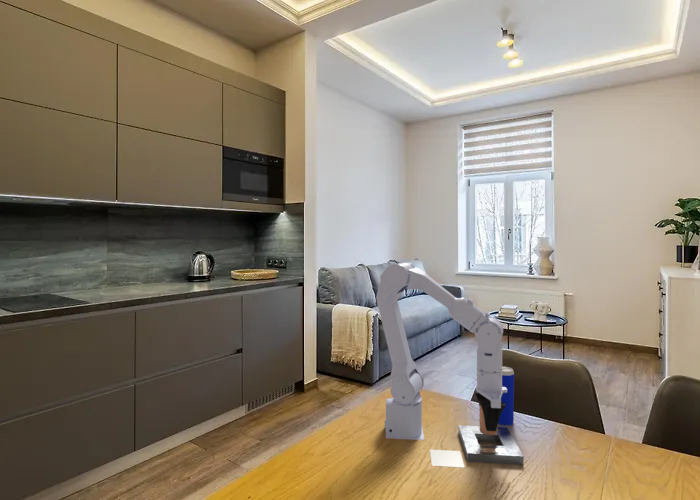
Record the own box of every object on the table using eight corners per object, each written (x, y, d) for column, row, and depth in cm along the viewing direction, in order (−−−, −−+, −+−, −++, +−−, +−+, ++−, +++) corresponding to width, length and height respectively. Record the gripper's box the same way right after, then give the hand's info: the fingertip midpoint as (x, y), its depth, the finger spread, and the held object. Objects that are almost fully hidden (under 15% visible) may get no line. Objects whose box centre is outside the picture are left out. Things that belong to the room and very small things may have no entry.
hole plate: (467, 464, 94) (467, 452, 94) (458, 434, 108) (458, 424, 108) (523, 467, 93) (523, 455, 92) (507, 437, 106) (507, 427, 106)
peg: (482, 435, 98) (482, 409, 98) (477, 427, 102) (477, 402, 102) (499, 435, 98) (499, 409, 98) (494, 427, 102) (494, 403, 102)
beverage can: (510, 419, 117) (511, 366, 116) (515, 428, 111) (516, 372, 111) (491, 418, 117) (491, 365, 117) (495, 427, 112) (496, 371, 111)
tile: (432, 468, 92) (432, 465, 92) (429, 451, 99) (429, 449, 99) (464, 470, 92) (464, 467, 92) (460, 453, 99) (460, 451, 98)
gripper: (515, 380, 92) (514, 441, 92) (499, 360, 106) (499, 413, 107) (482, 379, 93) (481, 440, 93) (470, 359, 107) (470, 412, 108)
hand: (488, 426), depth 100 cm, fingers closed on peg, 4 cm apart
